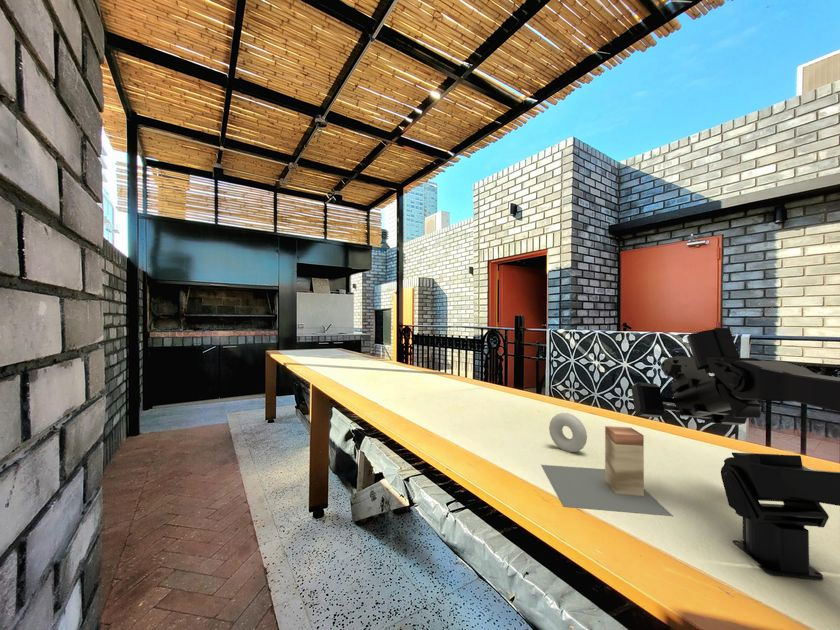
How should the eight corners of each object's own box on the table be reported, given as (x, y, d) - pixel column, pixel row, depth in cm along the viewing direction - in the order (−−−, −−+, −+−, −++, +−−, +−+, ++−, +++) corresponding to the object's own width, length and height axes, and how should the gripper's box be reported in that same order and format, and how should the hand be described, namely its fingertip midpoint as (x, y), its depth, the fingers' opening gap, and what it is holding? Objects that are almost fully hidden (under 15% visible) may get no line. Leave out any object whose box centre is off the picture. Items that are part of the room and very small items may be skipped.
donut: (546, 447, 90) (546, 409, 90) (553, 444, 92) (553, 408, 92) (582, 459, 82) (582, 418, 82) (589, 456, 84) (589, 416, 84)
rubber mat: (673, 519, 57) (673, 516, 57) (563, 509, 60) (563, 506, 60) (624, 472, 75) (624, 470, 75) (540, 466, 77) (540, 464, 77)
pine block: (643, 495, 64) (643, 435, 64) (615, 493, 64) (615, 433, 65) (631, 483, 69) (630, 427, 69) (605, 481, 69) (605, 426, 70)
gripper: (757, 355, 61) (698, 378, 75) (648, 347, 62) (611, 371, 77) (779, 418, 56) (712, 430, 70) (660, 407, 58) (618, 421, 72)
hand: (661, 410), depth 72 cm, fingers open, 9 cm apart
